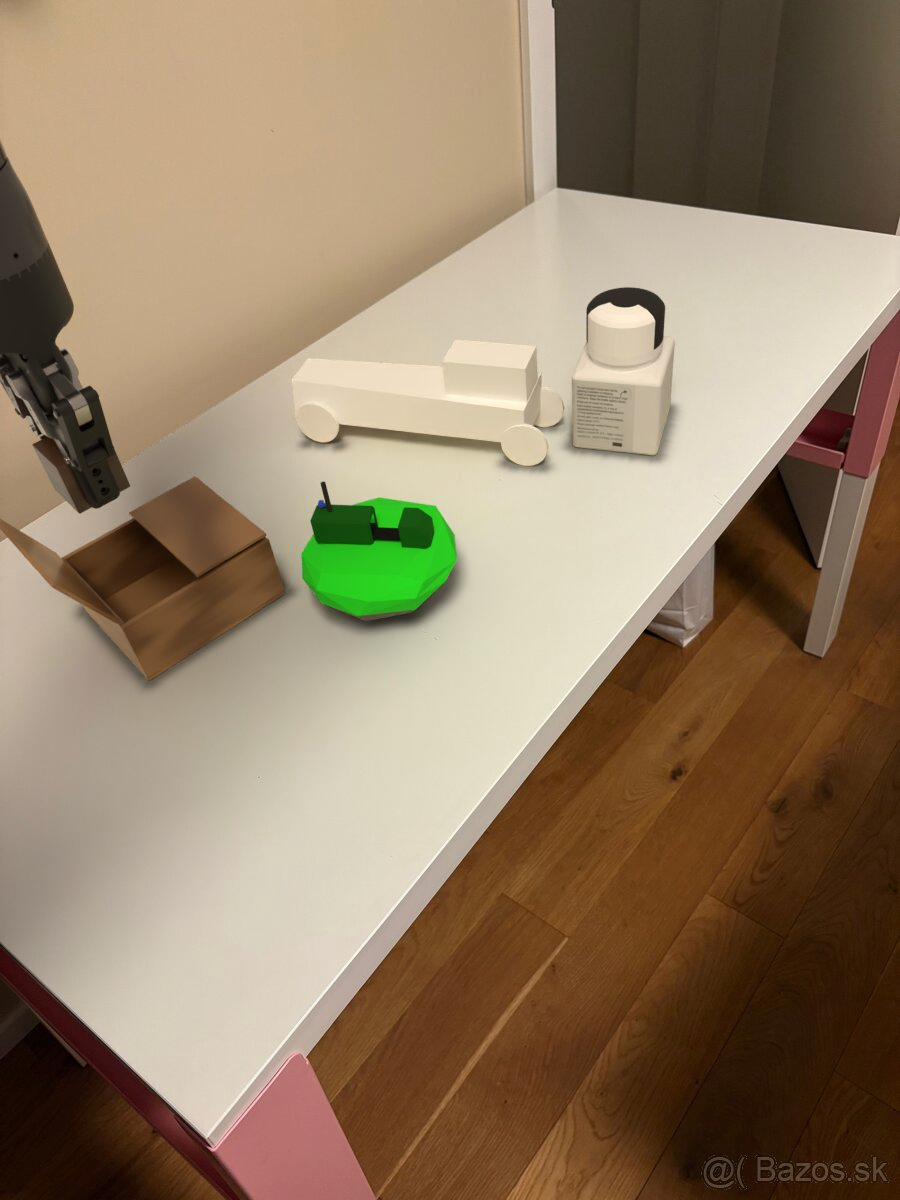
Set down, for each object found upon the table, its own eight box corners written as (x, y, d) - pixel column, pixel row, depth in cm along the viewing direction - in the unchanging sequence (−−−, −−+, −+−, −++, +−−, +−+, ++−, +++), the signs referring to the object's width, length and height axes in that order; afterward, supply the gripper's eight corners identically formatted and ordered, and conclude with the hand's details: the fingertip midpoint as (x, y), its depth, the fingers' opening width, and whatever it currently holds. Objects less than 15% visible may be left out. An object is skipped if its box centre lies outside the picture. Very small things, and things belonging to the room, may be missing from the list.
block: (79, 514, 65) (56, 467, 62) (54, 490, 67) (31, 444, 64) (131, 486, 66) (110, 439, 64) (105, 463, 69) (84, 417, 66)
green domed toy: (297, 646, 73) (263, 539, 65) (336, 543, 81) (309, 438, 73) (450, 656, 71) (434, 546, 63) (474, 549, 79) (462, 441, 71)
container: (589, 401, 92) (590, 275, 83) (670, 408, 90) (679, 279, 81) (571, 448, 87) (570, 319, 78) (656, 457, 85) (665, 326, 76)
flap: (119, 620, 67) (117, 624, 67) (56, 552, 74) (53, 555, 74) (54, 583, 62) (51, 586, 62) (-9, 513, 68) (-12, 516, 68)
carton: (148, 681, 72) (118, 621, 67) (86, 611, 78) (54, 552, 74) (286, 593, 77) (266, 532, 73) (217, 534, 84) (195, 475, 79)
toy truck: (565, 426, 90) (563, 338, 83) (546, 471, 85) (543, 382, 79) (325, 400, 97) (306, 318, 90) (296, 441, 92) (274, 358, 86)
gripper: (94, 263, 52) (187, 504, 64) (-6, 200, 60) (93, 425, 72) (-37, 318, 49) (87, 560, 61) (-124, 244, 57) (1, 471, 69)
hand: (90, 486), depth 67 cm, fingers closed on block, 4 cm apart
